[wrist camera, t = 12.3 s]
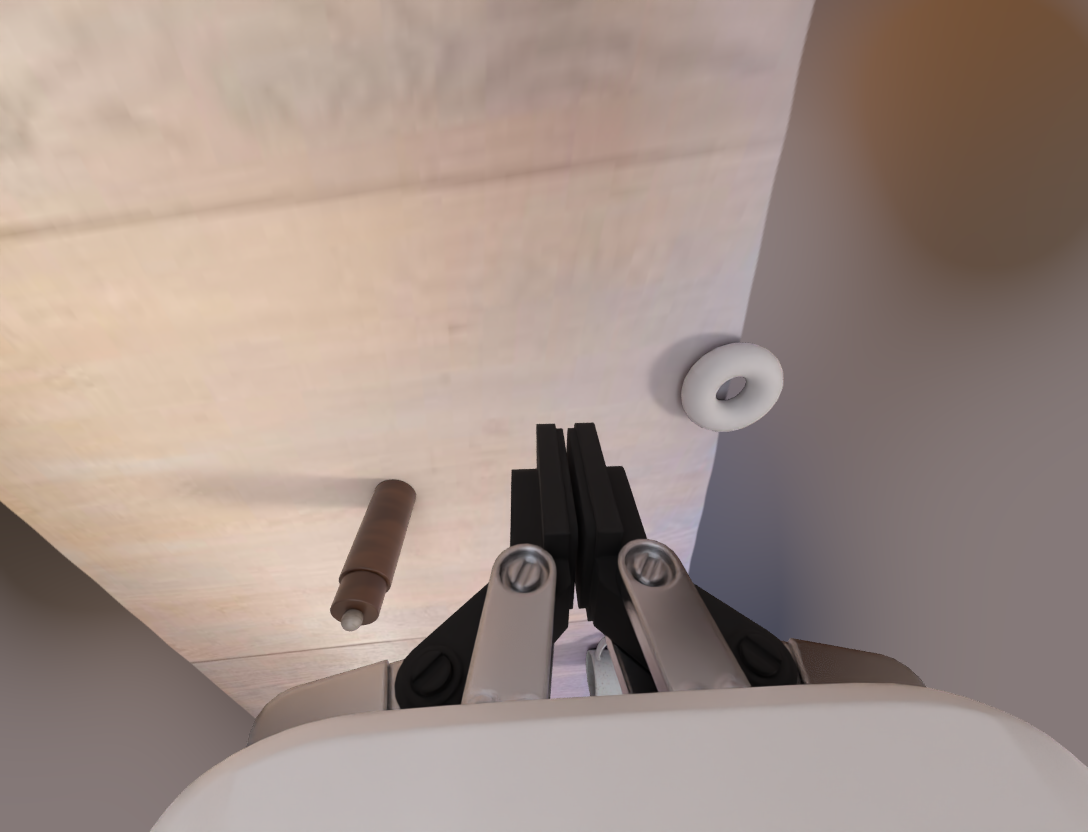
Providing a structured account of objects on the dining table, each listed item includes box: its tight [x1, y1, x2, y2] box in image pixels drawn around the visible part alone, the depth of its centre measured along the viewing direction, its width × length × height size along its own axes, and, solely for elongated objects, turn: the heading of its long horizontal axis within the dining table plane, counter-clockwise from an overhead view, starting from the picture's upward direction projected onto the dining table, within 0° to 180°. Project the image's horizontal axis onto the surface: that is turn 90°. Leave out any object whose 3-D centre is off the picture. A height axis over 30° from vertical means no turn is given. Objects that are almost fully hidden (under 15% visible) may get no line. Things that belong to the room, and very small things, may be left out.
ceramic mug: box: [586, 637, 623, 696], centre depth 69 cm, size 11×8×8 cm
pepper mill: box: [330, 480, 416, 631], centre depth 42 cm, size 5×5×16 cm
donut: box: [681, 343, 783, 432], centre depth 41 cm, size 10×4×10 cm
